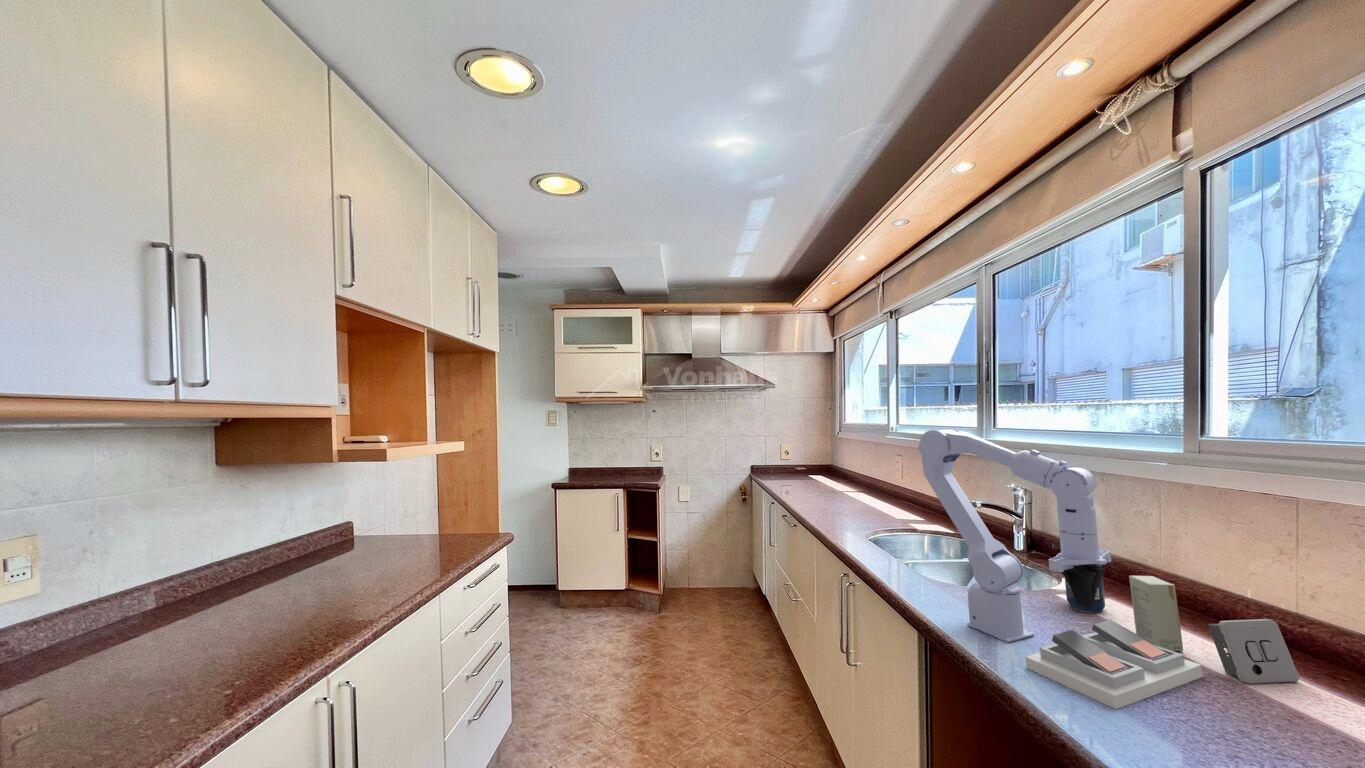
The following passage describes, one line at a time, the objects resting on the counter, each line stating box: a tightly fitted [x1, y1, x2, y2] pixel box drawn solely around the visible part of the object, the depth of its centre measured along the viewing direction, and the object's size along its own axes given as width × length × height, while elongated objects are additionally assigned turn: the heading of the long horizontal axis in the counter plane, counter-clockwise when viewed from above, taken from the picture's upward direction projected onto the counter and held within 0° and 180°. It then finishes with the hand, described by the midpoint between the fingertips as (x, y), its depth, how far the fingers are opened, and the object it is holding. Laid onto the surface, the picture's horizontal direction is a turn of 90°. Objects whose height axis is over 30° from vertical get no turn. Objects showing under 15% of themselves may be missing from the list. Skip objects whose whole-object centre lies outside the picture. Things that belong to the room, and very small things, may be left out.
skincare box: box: [1128, 575, 1184, 652], centre depth 97 cm, size 6×4×12 cm
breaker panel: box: [1025, 631, 1204, 710], centre depth 87 cm, size 14×23×4 cm, turn 110°
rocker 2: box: [1092, 619, 1169, 661], centre depth 89 cm, size 9×5×1 cm, turn 20°
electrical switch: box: [1207, 618, 1300, 684], centre depth 85 cm, size 9×5×9 cm, turn 90°
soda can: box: [1064, 564, 1106, 614], centre depth 115 cm, size 7×7×12 cm
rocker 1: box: [1051, 629, 1129, 675], centre depth 86 cm, size 9×5×1 cm, turn 20°
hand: (1084, 605), depth 93 cm, fingers closed
